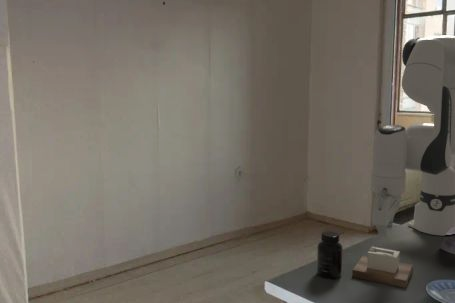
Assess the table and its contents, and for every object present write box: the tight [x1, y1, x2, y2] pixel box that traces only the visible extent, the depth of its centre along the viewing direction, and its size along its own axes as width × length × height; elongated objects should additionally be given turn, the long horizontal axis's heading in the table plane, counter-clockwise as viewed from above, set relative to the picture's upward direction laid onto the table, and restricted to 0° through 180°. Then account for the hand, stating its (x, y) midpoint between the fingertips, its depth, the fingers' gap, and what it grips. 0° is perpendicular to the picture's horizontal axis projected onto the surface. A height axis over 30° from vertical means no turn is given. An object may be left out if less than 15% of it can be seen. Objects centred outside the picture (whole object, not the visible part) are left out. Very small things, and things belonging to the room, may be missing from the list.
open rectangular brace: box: [367, 246, 401, 273], centre depth 127 cm, size 8×5×5 cm
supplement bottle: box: [316, 230, 344, 280], centre depth 127 cm, size 7×7×12 cm
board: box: [352, 255, 414, 289], centre depth 128 cm, size 12×14×2 cm
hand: (385, 233), depth 127 cm, fingers open, 8 cm apart
